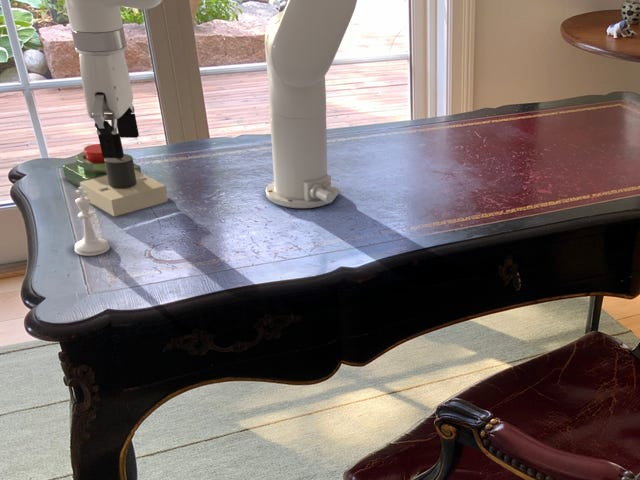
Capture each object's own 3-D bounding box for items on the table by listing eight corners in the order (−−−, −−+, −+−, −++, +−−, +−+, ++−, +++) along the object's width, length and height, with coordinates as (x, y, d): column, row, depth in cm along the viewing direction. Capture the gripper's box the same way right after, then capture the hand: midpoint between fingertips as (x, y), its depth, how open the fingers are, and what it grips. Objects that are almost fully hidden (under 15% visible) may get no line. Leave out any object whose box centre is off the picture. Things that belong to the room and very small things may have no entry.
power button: (105, 151, 148) (104, 141, 147) (120, 158, 146) (118, 149, 145) (80, 157, 145) (78, 147, 144) (94, 164, 143) (92, 155, 142)
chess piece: (97, 258, 123) (85, 196, 118) (67, 252, 124) (54, 190, 118) (116, 244, 127) (105, 184, 122) (87, 239, 128) (75, 179, 123)
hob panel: (167, 201, 142) (165, 184, 141) (114, 217, 136) (111, 199, 134) (135, 184, 147) (133, 167, 145) (82, 198, 140) (79, 181, 139)
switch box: (117, 167, 153) (113, 143, 151) (142, 180, 149) (139, 156, 147) (65, 179, 147) (60, 155, 144) (90, 193, 142) (85, 169, 140)
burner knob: (141, 184, 140) (137, 157, 137) (116, 190, 137) (111, 163, 134) (128, 176, 142) (124, 150, 140) (104, 182, 139) (99, 155, 137)
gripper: (91, 26, 133) (112, 129, 143) (56, 53, 119) (82, 165, 129) (138, 28, 134) (156, 130, 144) (109, 54, 120) (131, 166, 130)
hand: (121, 146), depth 136 cm, fingers open, 9 cm apart
